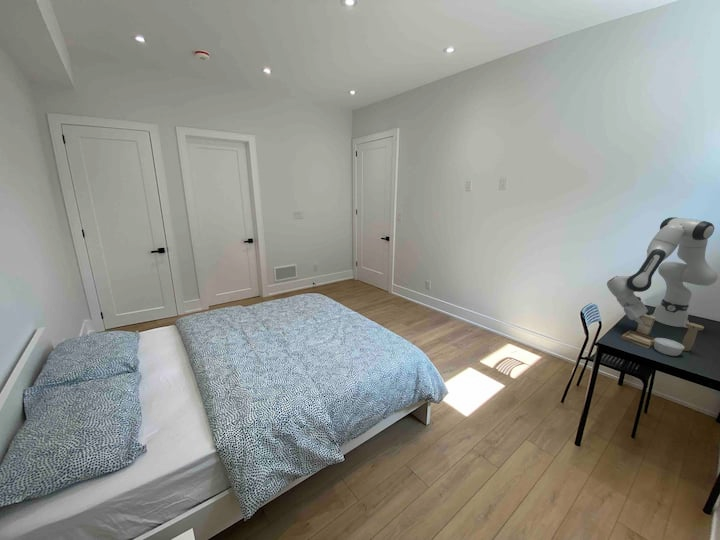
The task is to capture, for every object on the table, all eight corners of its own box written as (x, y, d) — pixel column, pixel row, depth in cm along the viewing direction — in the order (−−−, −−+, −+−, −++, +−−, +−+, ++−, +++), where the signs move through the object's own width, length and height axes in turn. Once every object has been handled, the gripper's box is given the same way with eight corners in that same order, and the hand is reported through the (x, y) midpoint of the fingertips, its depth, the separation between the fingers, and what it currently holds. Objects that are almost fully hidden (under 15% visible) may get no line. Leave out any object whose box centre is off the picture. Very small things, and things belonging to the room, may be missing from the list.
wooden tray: (628, 333, 175) (629, 330, 175) (655, 342, 166) (656, 339, 165) (620, 338, 169) (621, 335, 168) (648, 348, 159) (649, 345, 158)
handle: (692, 354, 155) (702, 328, 151) (675, 348, 160) (685, 323, 156) (694, 351, 158) (705, 326, 153) (678, 345, 163) (687, 321, 158)
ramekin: (647, 348, 160) (650, 339, 158) (657, 344, 164) (661, 335, 162) (674, 359, 150) (678, 350, 148) (685, 354, 154) (688, 346, 153)
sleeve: (638, 332, 177) (644, 314, 174) (649, 335, 173) (655, 317, 170) (635, 334, 174) (641, 315, 171) (646, 337, 171) (652, 319, 167)
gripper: (628, 303, 169) (645, 325, 164) (640, 296, 180) (657, 317, 175) (617, 307, 174) (633, 329, 169) (629, 300, 184) (644, 321, 179)
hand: (645, 323), depth 172 cm, fingers open, 8 cm apart
